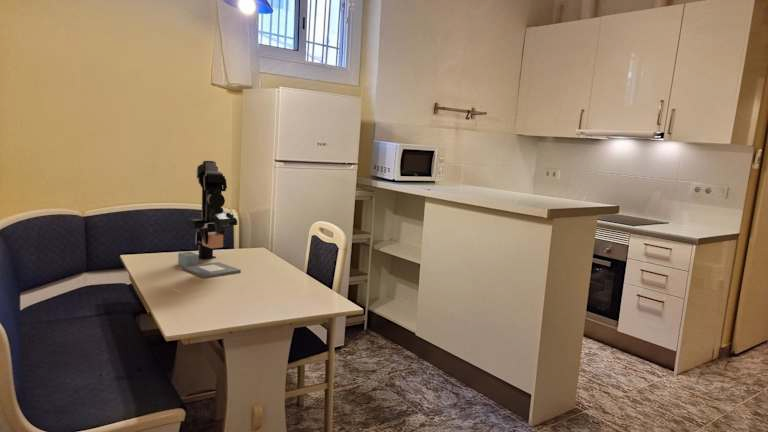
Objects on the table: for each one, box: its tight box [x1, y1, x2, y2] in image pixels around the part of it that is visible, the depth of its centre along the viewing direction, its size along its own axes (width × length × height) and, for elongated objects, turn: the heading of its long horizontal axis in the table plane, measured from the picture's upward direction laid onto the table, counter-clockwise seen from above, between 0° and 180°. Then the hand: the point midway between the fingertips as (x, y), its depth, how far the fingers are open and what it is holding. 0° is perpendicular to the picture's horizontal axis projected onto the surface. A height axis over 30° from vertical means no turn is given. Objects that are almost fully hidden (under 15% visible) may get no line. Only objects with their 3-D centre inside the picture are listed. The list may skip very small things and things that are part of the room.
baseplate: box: [182, 261, 242, 279], centre depth 204 cm, size 16×16×1 cm
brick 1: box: [177, 251, 200, 268], centre depth 210 cm, size 7×5×5 cm
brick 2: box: [202, 232, 224, 249], centre depth 202 cm, size 7×5×5 cm
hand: (212, 243), depth 202 cm, fingers closed on brick 2, 5 cm apart
